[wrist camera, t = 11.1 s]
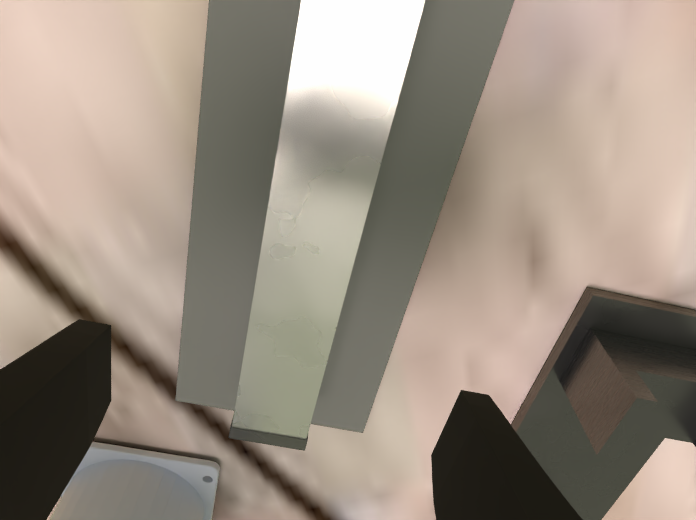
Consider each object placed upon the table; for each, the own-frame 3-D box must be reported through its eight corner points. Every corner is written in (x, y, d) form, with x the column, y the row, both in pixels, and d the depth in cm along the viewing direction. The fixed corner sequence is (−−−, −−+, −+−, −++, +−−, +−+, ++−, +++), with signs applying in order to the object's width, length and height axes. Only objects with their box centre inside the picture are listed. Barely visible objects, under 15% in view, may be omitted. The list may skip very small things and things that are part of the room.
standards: (545, 577, 31) (573, 666, 27) (436, 560, 30) (448, 649, 26) (740, 319, 21) (829, 399, 17) (587, 287, 21) (643, 362, 17)
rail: (310, 395, 23) (304, 450, 21) (243, 383, 23) (228, 438, 20) (427, -52, 15) (443, -59, 12) (322, -81, 14) (314, -94, 12)
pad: (362, 426, 25) (362, 433, 24) (178, 394, 24) (175, 400, 23) (549, -113, 14) (554, -115, 14) (230, -207, 13) (227, -212, 13)
